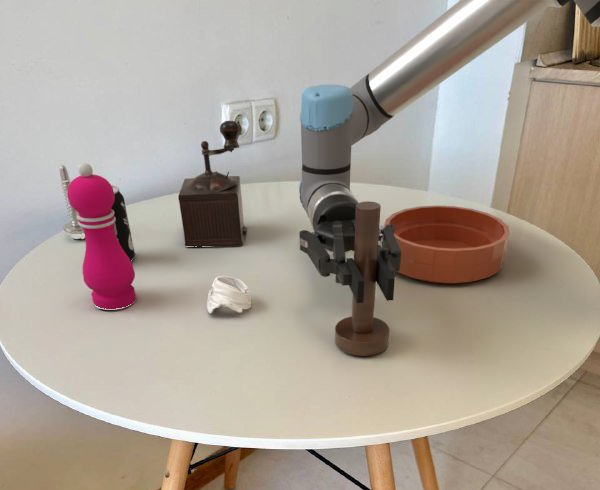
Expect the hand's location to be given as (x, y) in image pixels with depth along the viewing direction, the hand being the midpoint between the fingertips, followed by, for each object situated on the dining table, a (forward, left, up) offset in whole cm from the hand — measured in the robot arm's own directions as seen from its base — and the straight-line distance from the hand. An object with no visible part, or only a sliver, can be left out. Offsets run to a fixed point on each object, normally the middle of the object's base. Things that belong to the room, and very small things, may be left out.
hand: (375, 290), depth 67 cm
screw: (+61, +26, -11) cm, 68 cm away
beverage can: (+47, +22, -11) cm, 53 cm away
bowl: (+22, -27, -10) cm, 36 cm away
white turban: (+23, +10, -11) cm, 28 cm away
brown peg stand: (+5, -2, -10) cm, 11 cm away
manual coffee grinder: (+52, +2, -11) cm, 53 cm away
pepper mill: (+32, +25, -11) cm, 42 cm away
